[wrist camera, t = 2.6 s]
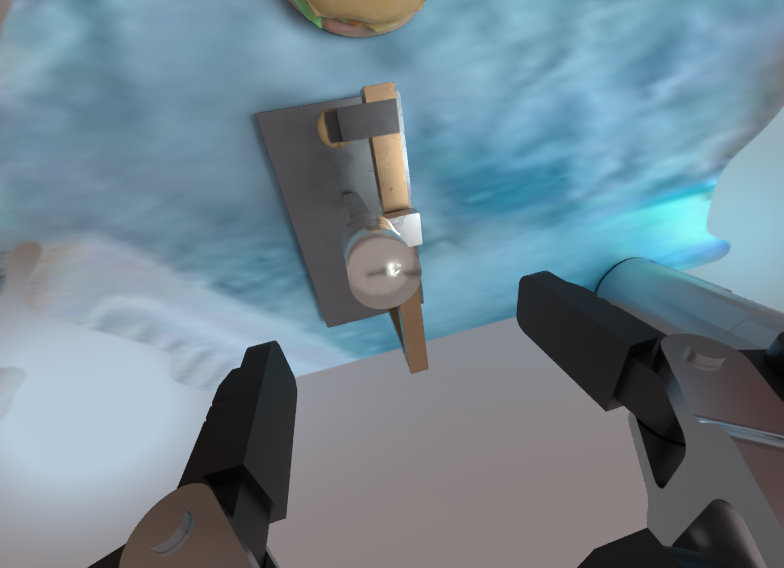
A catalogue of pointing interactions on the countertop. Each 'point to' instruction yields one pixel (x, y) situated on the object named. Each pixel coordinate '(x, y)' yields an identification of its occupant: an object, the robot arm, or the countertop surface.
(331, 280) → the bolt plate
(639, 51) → the countertop surface
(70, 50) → the countertop surface
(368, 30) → the burger
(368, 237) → the grey elongated rounded piece
